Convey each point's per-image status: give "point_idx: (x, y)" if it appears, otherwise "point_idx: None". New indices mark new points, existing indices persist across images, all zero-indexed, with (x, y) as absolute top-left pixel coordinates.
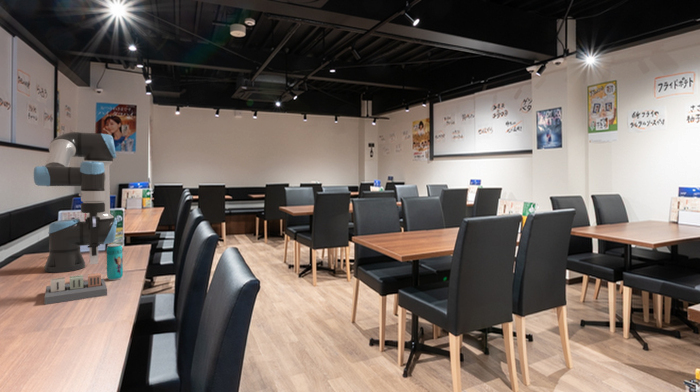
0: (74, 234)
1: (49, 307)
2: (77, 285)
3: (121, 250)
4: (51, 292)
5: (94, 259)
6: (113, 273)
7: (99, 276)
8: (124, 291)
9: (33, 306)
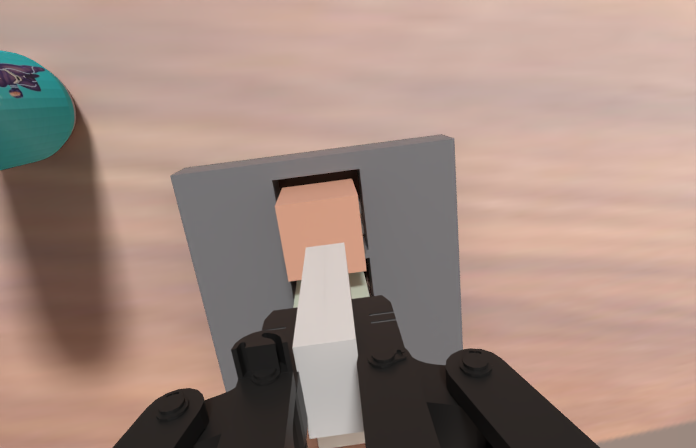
0: None
1: (507, 351)
2: None
3: None
4: None
5: (350, 291)
6: (53, 118)
7: (357, 202)
8: (405, 38)
9: None
